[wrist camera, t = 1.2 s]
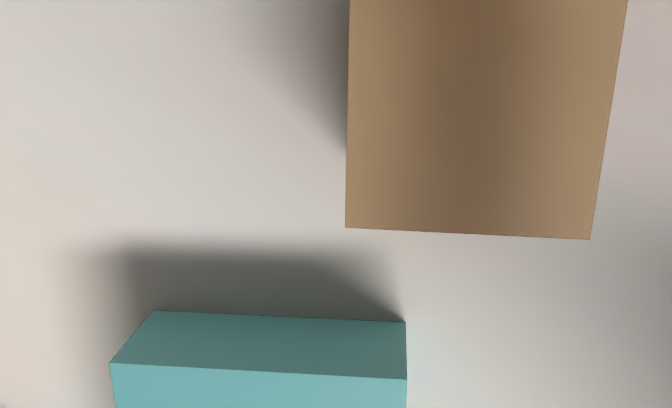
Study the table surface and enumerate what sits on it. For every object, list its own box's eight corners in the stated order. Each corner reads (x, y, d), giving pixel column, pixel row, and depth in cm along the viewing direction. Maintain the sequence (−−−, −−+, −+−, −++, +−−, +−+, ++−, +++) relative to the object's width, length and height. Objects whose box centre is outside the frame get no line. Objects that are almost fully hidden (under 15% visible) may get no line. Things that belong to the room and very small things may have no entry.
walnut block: (557, -10, 18) (631, -25, 12) (534, 176, 20) (589, 239, 14) (365, -12, 18) (349, -26, 13) (360, 170, 20) (345, 227, 15)
